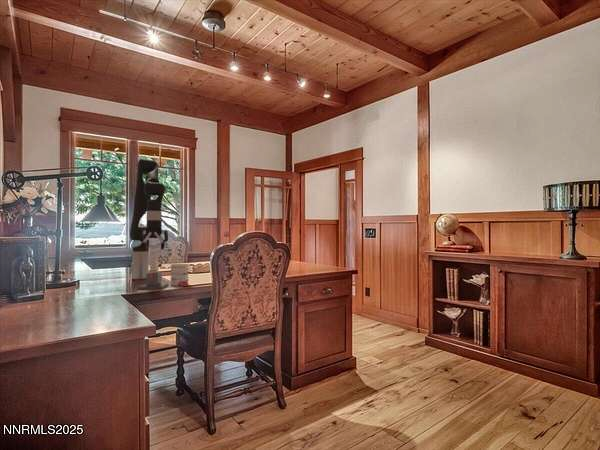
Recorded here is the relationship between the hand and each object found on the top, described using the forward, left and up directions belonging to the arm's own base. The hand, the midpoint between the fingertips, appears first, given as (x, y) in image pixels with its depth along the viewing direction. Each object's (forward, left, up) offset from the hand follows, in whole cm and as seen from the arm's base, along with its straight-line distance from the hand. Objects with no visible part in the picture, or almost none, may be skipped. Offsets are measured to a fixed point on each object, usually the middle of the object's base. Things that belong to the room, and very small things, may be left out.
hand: (153, 249), depth 186 cm
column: (0, 0, -13) cm, 13 cm away
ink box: (+11, +9, -21) cm, 25 cm away
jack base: (0, 0, -21) cm, 21 cm away
